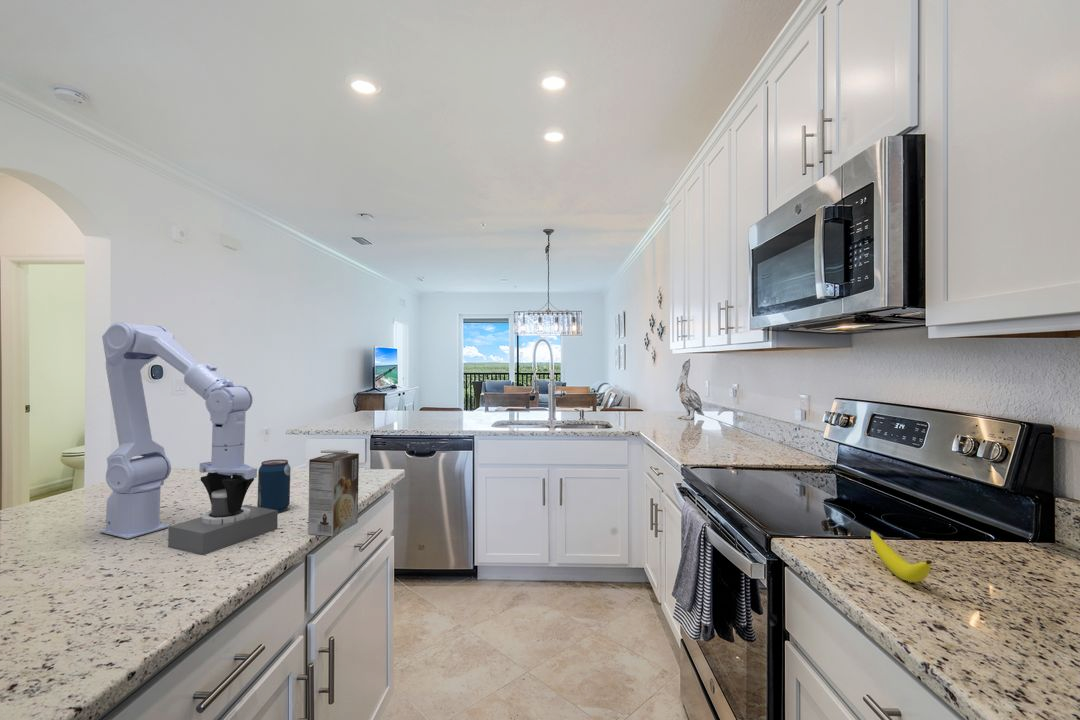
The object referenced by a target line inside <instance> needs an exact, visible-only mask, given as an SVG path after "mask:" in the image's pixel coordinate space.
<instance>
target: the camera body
mask: <svg viewBox="0 0 1080 720" xmlns="http://www.w3.org/2000/svg"><path fill="white" fill-rule="evenodd" d="M278 514H279V513H278V510H273V509H267V508H262V507H257V505H249V504H242V507H241V510H240V511H237V515H234V516H229V517H219V518H214V517H211V510H209V511H206V512H204V513H203V514H201V515H200V516H201V517H200V516H199V517H197V518H193V519H190V520H186V521H183V522H179V523H175V524H172V525H169V527H168V537H167V538H168V540H167V541H168V542H167V547H168V548H171V549H176V550H180V551H184V552H188V553H192V554H197V555H202V556H203V555H206V554H207V555H208V554H209V553H212V552H215V551H218V550H221V549H223V548H227V547H229V546H232V545H234V544H235V545H236V544H238V543H240V542H244V541H246V540H249V539H252V538H254V537H257V536H260V535H264V534H266V533H269V532H271V531H274V530H277V529H278V517H279V516H278ZM222 523H223V524H222Z"/></svg>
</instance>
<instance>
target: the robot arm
mask: <svg viewBox="0 0 1080 720" xmlns="http://www.w3.org/2000/svg"><path fill="white" fill-rule="evenodd" d="M101 337H102V338H101V339H102V344H103V350H104V355H105V356H104V357H105V371H106V375H107V382H108V387H109V393H110V401H111V405H112V411H113V418H114V424H115V430H116V434H117V441H118V447H117V448H116V449H115V450H114V451H112V453H110V454H109V455H108V456H107V458H106V462H107V468H106V472H105V482H106V483H107V485H108V487H109V488H110V489H111V490H112V492H111V493H110V495H109V496H108V498H107V500H106V509H105V511H106V512H105V513H106V516H105V528H102V529H100V533H102V534H106V535H110V536H114V537H117V538H118V537H119V538H123V539H127V540H128V539H132V538H135V537H138V536H142V535H145V534H150V533H152V532H153V533H154V532H157V531H160V530H164V529H167V528H168V529H169V526H170V525H169V524H166V523H163V522H160V521H161V520H160V519H161V518H160V516H161V492H162V491H161V487H162V486H164V485H165V483H164V482H165V481H166V480H167V479H168V477H170V474H171V472H172V471H171V470H172V464H171V461H170V459H169V458H168V457H167V455H166V452H165V448H164V447H163V446H162V445H160V444H159V443H158V442H156V441H154V440H153V437H152V430H151V426H150V420H149V419H150V418H149V414H148V408H147V403H146V396H145V391H144V385H143V379H142V372H141V370H142V369H143V368H144V367H145V366H146V365H148V364H149V363H151V362H152V361H154V360H155V359H157V357H159V358H160V359H162V360H163V361H164V362H166V363H168V364H169V365H170V366H172V367H173V368H174V369H176V370H177V371H178V372H180V373H181V374H182V375H184V376H183V382H184V384H185V385H186V386H187V387H189V388H190V389H191V390H193V391H194V392H195V393H196V394H197V395H198V396H200V397H201V398H202V399H203V400H204V401H205V403H204V404H205V408H206V409H207V411H208V412H209V416H210V417H209V418H210V420H209V421H211V424H212V430H211V431H212V432H211V433H212V434H211V435H212V436H211V457H210V458H211V459H210V460H211V461H205V462H200V463H199V469H198V471H199V473H202V474H203V473H207V474H206V475H204V476H201V477H200V482H201V483H202V484H203V487H204V488H205V490H206V492H207V494H208V497H209V501H210V504H211V503H212V492H213V491H216V490H220V489H226V493H227V502H228V511H229V513H233V512H237V511H240V510H241V507H242V506H243V505H244V504H243V503H244V500H245V497H246V495H247V492H248V490H249V489H250V486H251V485H252V483H253V482H254V481H255V478H258V467H253V466H250V465H248V464H246V463H245V443H246V442H245V440H246V416H247V415H246V412H247V411H248V410H249V409H250V408H251V407H252V404H253V395H252V393H251V391H250V390H249V389H248V387H246V386H245V385H236V384H235V383H234V382H233V381H232V380H231V379H229V378H226V376H224V375H223V374H221V372H219V371H218V370H217V369H218V367H217V366H216V365H215V364H209V363H206V362H203V363H199V362H198V361H197V360H196V359H195V358H194V356H192V355H191V354H190V353H189V352H188V351H187V350H185V348H184V347H182V345H180V343H178V341H176V340H175V335H174V334H173V333H172V332H170V331H169V330H168V329H167V328H166V327H164V326H162V325H149V324H148V325H147V324H137V323H128V322H124V321H123V322H122V321H119V322H115V323H112V324H111V325H110V326H109V327H108V328H107V329H106V331H105V332H104V333H103V335H102V336H101ZM138 456H140V457H138ZM133 457H136V458H133Z"/></svg>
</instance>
